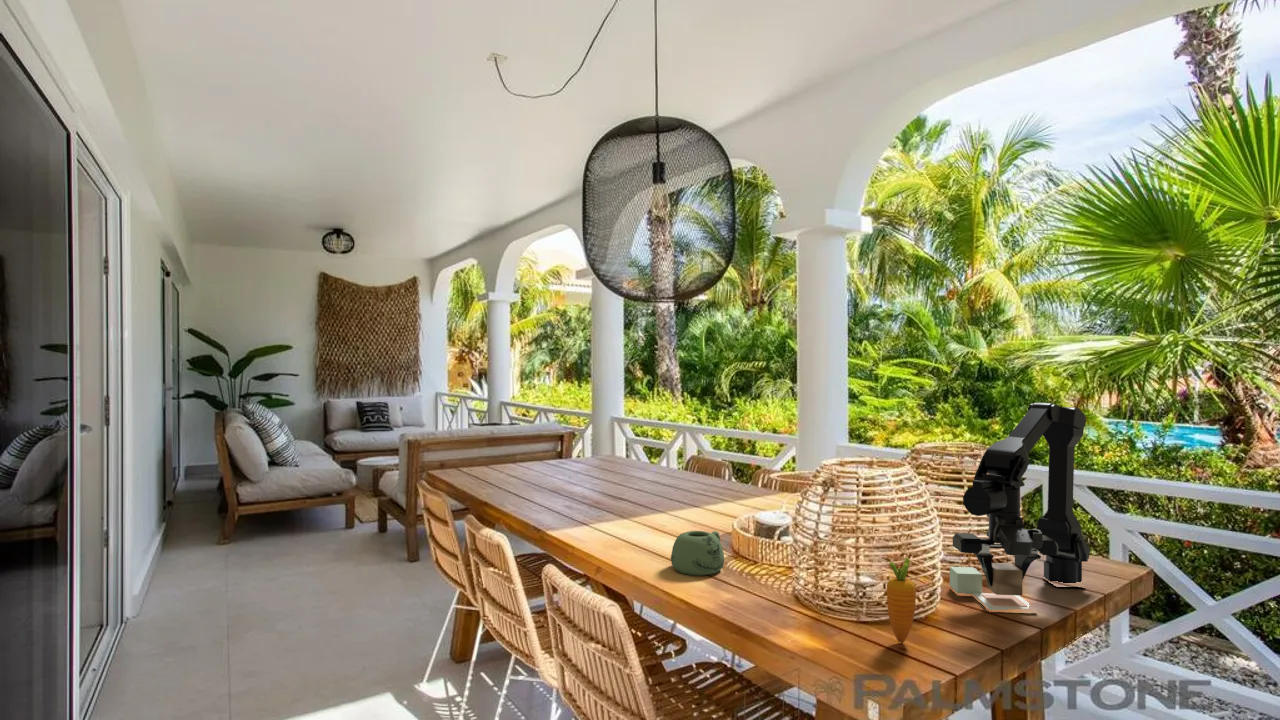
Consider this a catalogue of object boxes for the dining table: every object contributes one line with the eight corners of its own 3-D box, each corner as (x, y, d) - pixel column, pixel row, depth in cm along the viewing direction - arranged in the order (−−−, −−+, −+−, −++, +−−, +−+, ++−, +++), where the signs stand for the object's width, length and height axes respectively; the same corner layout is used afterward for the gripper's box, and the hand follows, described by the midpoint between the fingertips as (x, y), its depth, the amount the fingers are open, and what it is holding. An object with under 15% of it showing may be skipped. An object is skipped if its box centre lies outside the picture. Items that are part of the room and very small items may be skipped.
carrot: (889, 648, 124) (889, 562, 124) (884, 637, 129) (884, 554, 129) (919, 649, 123) (919, 563, 123) (912, 638, 128) (912, 555, 128)
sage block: (973, 590, 156) (973, 567, 156) (982, 597, 151) (982, 574, 151) (949, 589, 156) (949, 566, 156) (957, 597, 151) (957, 573, 151)
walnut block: (1011, 587, 148) (1011, 563, 148) (1022, 595, 143) (1022, 570, 143) (986, 586, 148) (986, 562, 148) (996, 594, 143) (996, 569, 143)
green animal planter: (704, 581, 161) (704, 543, 161) (659, 570, 170) (659, 534, 170) (741, 565, 174) (741, 530, 174) (697, 556, 182) (697, 522, 182)
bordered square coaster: (1017, 599, 150) (1017, 593, 150) (1037, 614, 141) (1037, 608, 141) (973, 597, 150) (973, 592, 150) (989, 612, 141) (989, 606, 141)
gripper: (971, 517, 138) (970, 597, 138) (1072, 519, 137) (1072, 601, 137) (951, 505, 150) (951, 580, 150) (1045, 507, 148) (1045, 582, 148)
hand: (1004, 586), depth 146 cm, fingers closed on walnut block, 5 cm apart
